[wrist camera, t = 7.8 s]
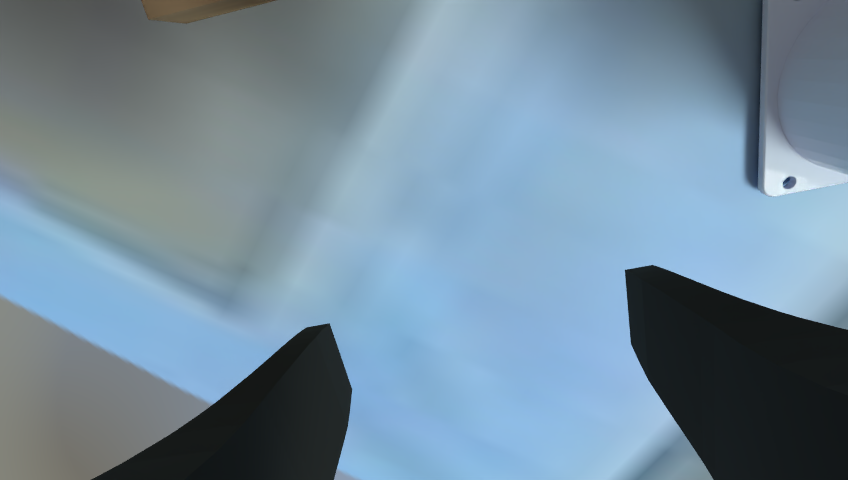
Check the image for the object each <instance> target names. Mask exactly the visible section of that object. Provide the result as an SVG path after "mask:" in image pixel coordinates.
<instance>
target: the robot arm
mask: <svg viewBox="0 0 848 480" xmlns="http://www.w3.org/2000/svg"><path fill="white" fill-rule="evenodd" d="M787 177H790V180H789V183H788V184H787V185H785V186H783V185H782V184H783V181H784V180H785V179H786V178H787ZM844 183H848V0H763V12H762V50H761V87H760V125H759V163H758V189H759V191H760V192H761V193H763V194H765V195H767V196H770V197H776V196H781V195H786V194H791V193H797V192H802V191H807V190H812V189H818V188H823V187H828V186H833V185H839V184H844ZM625 276H626V288H627V300H628V313H629V325H630V337H631V345H632V347H633V349H634V351H635V353H636V356H637V358H638V360H639V362H640V364H641V366H642V368H643V370H644V372H645V374H646V376H647V378H648V380H649V382H650V383H651V385H652V386H653V388H654V389H655V391H656V392H657V394H658V395H659V397H660V398H661V400H662V402H663V403H664V405H665V406H666V408H667V409H668V411H669V412H670V414H671V415H672V417H673V418H674V420H675V421H676V422H677V424H678V425H679V427H680V428H681V430H682V431H683V433H684V434H685V436H686V437H687V439H688V440H689V442H690V443H691V445H692V446H693V448H694V449H695V451H696V452H697V454H698V455H699V457H700V458H701V460H702V461H703V463H704V464H705V466H706V468H707V469H708V471H709V473H710V474H711V476H712V478H713V479H714V480H848V330H846V329H842V328H838V327H834V326H830V325H826V324H822V323H818V322H814V321H811V320H807V319H803V318H799V317H796V316H792V315H789V314H785V313H782V312H779V311H776V310H773V309H770V308H767V307H764V306H761V305H758V304H755V303H752V302H749V301H746V300H743V299H740V298H738V297H735V296H732V295H729V294H727V293H724V292H721V291H719V290H716V289H714V288H711V287H709V286H706V285H704V284H701V283H699V282H696V281H694V280H691V279H689V278H686V277H684V276H681V275H679V274H676V273H674V272H671V271H668V270H666V269H663V268H660V267H657V266H654V265H650V266H645V267H639V268H634V269H628V270H625ZM351 395H352V388H351V385H350V382H349V379H348V376H347V373H346V370H345V367H344V364H343V361H342V359H341V356H340V353H339V350H338V347H337V344H336V341H335V338H334V335H333V332H332V329H331V326H330V323H329V324H323V325H318V326H312V327H307V328H305V329H304V330H302V331H301V332H299V333H298V334H297V335H295V336H294V337H293V338H292V339H291V340H289V341H288V342H287V343H286V344H285V345H284V346H282V347H281V348H280V349H279V350H278V351H277V352H276V353H274V354H273V355H272V356H271V357H270V358H269V359H268V360H266V361H265V362H264V363H263V364H262V365H261V366H260V367H258V368H257V369H256V370H255V371H254V372H253V373H251V374H250V375H249V376H248V377H247V378H245V379H244V380H243V381H242V382H241V383H239V384H238V385H237V386H236V387H234V388H233V389H232V390H231V391H229V392H228V393H227V394H226V395H224V396H223V397H222V398H221V399H220V400H218V401H217V402H216V403H214V404H213V405H212V406H210V407H209V408H208V409H206V410H205V411H204V412H202V413H201V414H200V415H198V416H197V417H195V418H194V419H192V420H191V421H189V422H188V423H186V424H185V425H184V426H182V427H181V428H179V429H178V430H176V431H175V432H173V433H172V434H170V435H169V436H167V437H165V438H163V439H162V440H160V441H159V442H157V443H155V444H154V445H152V446H150V447H149V448H147V449H145V450H144V451H142V452H140V453H139V454H137V455H135V456H134V457H132V458H130V459H129V460H127V461H125V462H124V463H122V464H120V465H118V466H116V467H114V468H112V469H111V470H109V471H107V472H105V473H103V474H101V475H99V476H97V477H95V478H94V479H92V480H334V477H335V473H336V469H337V466H338V462H339V458H340V455H341V451H342V447H343V443H344V439H345V435H346V431H347V427H348V421H349V413H350V404H351Z"/></svg>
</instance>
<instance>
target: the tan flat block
mask: <svg viewBox="0 0 848 480" xmlns="http://www.w3.org/2000/svg"><path fill="white" fill-rule="evenodd" d="M141 1H142V4H143V7H144V9H145V12H146V14H147V17H148V19H149V20H157V21H167V22H177V23H190V22H194V21H198V20H202V19H206V18H210V17H213V16H217V15H221V14H225V13H229V12H233V11H237V10H241V9H245V8H249V7H252V6H256V5H260V4H264V3H268V2H272V1H276V0H141Z"/></svg>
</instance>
